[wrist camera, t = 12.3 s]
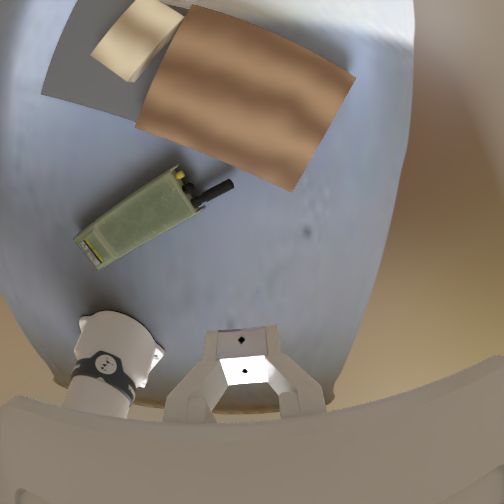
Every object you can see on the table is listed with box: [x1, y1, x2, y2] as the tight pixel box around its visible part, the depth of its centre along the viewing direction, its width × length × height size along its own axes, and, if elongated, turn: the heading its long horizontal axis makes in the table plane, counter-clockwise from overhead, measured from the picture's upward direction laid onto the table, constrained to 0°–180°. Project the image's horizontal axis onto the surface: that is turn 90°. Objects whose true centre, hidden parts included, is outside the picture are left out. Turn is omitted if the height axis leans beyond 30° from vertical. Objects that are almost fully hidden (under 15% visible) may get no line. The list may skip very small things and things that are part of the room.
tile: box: [91, 0, 185, 82], centre depth 23 cm, size 10×7×2 cm
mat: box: [41, 0, 189, 122], centre depth 24 cm, size 16×18×1 cm
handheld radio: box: [74, 163, 234, 270], centre depth 35 cm, size 7×3×25 cm
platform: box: [135, 5, 356, 193], centre depth 28 cm, size 16×20×4 cm
